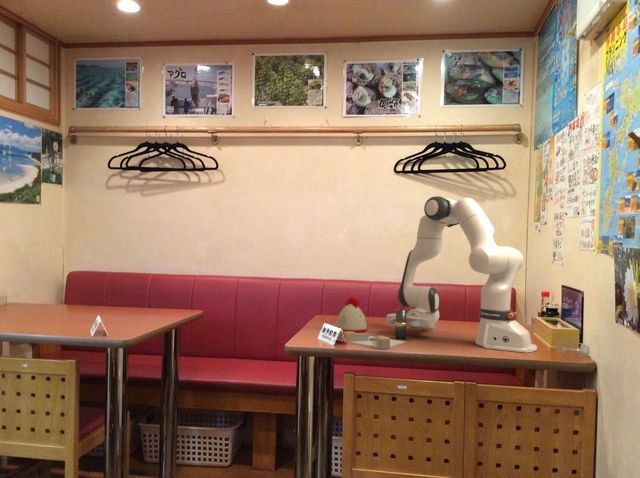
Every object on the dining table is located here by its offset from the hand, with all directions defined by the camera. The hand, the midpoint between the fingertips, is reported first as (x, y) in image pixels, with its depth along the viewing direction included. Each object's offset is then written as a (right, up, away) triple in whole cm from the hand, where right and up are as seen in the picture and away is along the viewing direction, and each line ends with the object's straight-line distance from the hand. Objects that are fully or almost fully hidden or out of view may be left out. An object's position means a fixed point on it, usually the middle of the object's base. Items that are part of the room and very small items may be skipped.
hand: (401, 322), depth 206 cm
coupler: (0, -7, 0) cm, 7 cm away
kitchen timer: (-20, -6, +16) cm, 26 cm away
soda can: (+12, -7, +41) cm, 43 cm away
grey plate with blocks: (-14, -6, -8) cm, 17 cm away
